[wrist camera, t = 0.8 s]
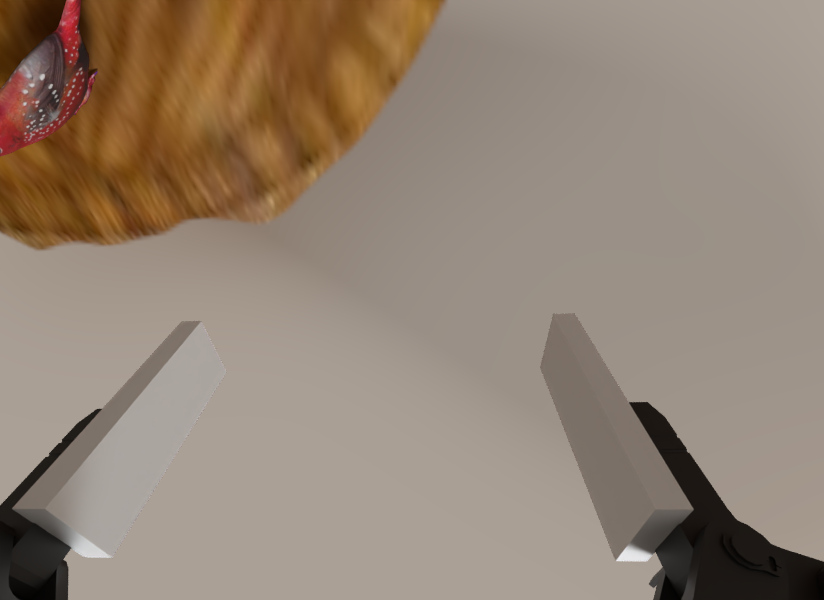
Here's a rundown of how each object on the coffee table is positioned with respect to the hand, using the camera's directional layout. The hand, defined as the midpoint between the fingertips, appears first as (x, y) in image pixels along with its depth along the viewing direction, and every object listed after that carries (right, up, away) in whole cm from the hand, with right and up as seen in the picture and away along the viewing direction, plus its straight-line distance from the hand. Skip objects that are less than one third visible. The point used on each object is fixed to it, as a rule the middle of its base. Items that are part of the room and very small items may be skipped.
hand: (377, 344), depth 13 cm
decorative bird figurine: (-28, +23, +18) cm, 40 cm away
